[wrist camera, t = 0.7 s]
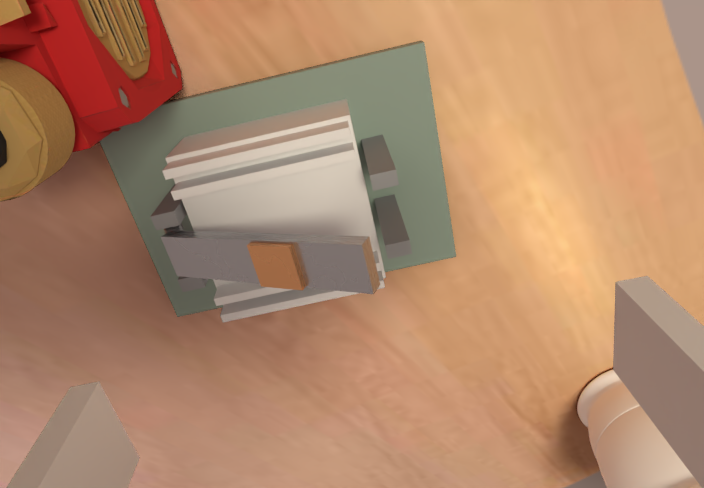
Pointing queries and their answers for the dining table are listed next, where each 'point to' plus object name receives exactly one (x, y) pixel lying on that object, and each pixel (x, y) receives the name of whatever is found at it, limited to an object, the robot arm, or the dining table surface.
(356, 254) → the strap
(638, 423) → the jar
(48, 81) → the radio
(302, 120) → the heatsink
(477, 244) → the dining table surface
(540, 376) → the dining table surface
